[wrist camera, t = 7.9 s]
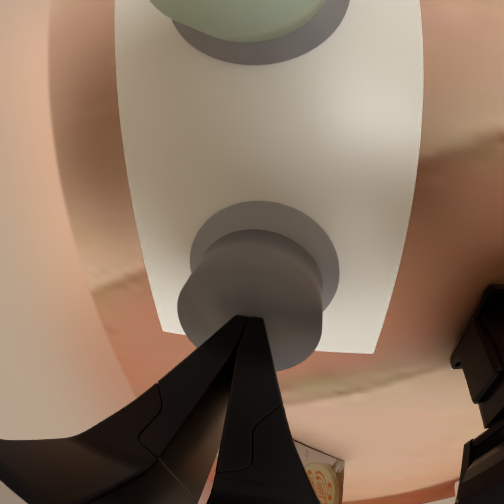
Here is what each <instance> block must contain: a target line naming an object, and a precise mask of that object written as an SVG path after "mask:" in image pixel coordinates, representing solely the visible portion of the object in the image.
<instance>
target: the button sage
mask: <svg viewBox="0 0 504 504" xmlns="http://www.w3.org/2000/svg"><path fill="white" fill-rule="evenodd" d="M325 1H326V0H150V2H151V3H152V4H153V5H154V6H155V7H156V9H158V10H159V11H160V12H161V13H163V14H164V15H166V16H167V17H169V18H171V19H172V20H175V21H177V22H180V23H182V24H185V25H187V26H189V27H192V28H194V29H196V30H199V31H201V32H203V33H205V34H207V35H210V36H212V37H215V38H218V39H221V40H226V41H231V42H241V43H247V42H261V41H266V40H271V39H275V38H278V37H281V36H284V35H286V34H289V33H291V32H293V31H295V30H297V29H298V28H300V27H302V26H303V25H305V24H306V23H307V22H309V21H310V20H311V19H312V18H313V17H314V16H315V15H316V14H317V13H318V12H319V11H320V9H321V8H322V7H323V5H324V3H325Z"/></svg>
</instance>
